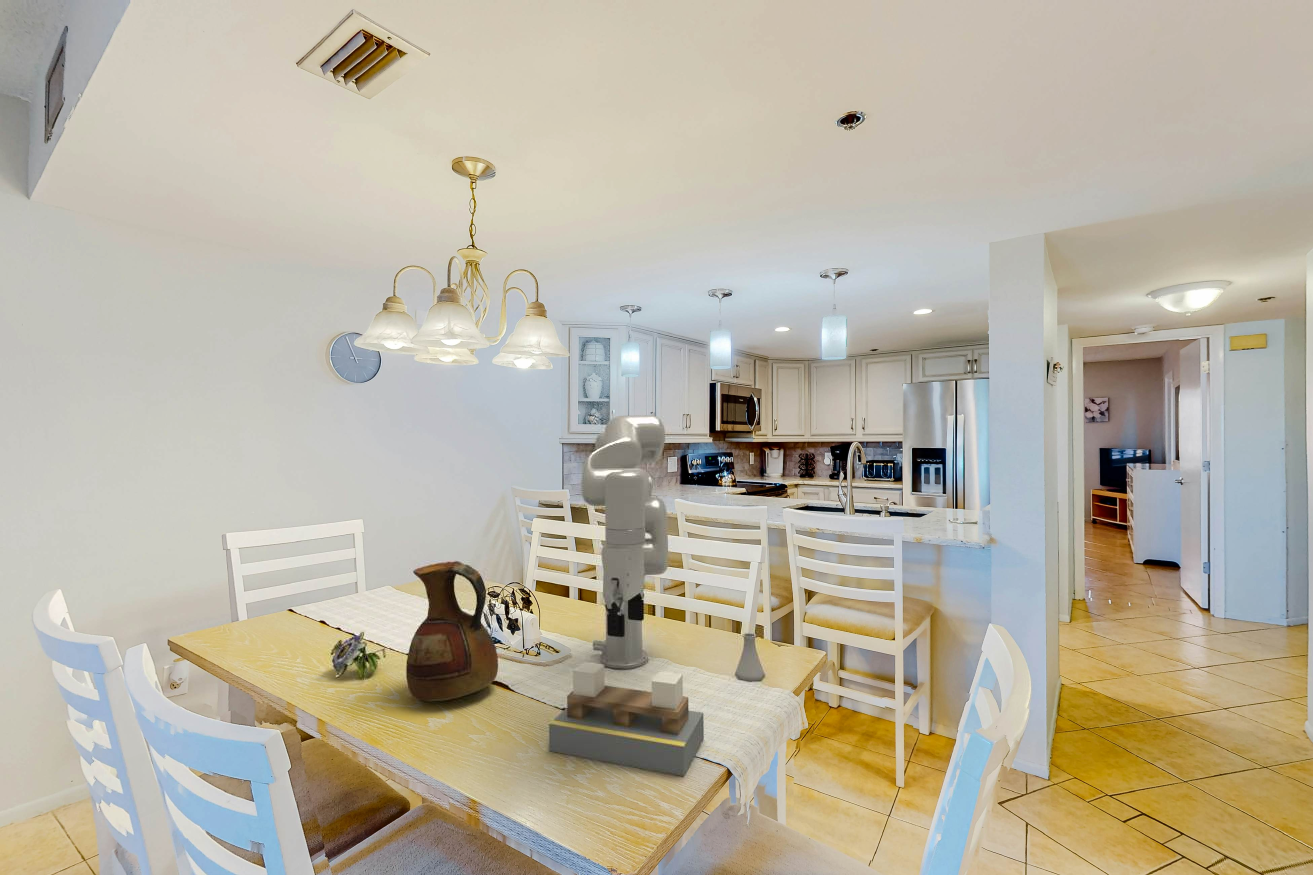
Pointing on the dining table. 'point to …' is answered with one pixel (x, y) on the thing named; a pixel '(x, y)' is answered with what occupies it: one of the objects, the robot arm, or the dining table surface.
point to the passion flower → (354, 656)
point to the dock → (628, 740)
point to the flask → (749, 661)
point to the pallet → (629, 707)
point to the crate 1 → (588, 679)
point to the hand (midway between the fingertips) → (626, 627)
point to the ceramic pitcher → (450, 639)
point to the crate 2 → (667, 690)
